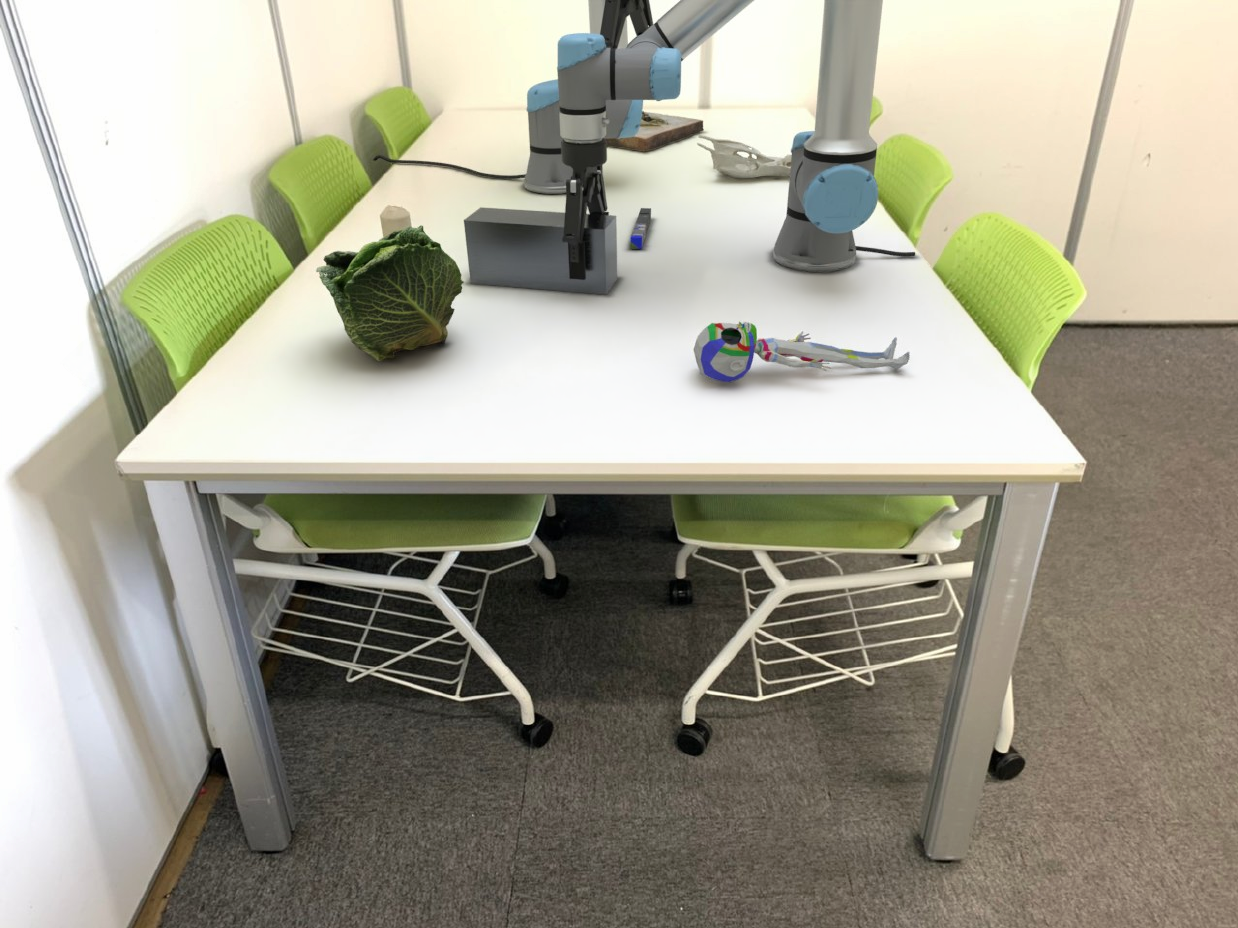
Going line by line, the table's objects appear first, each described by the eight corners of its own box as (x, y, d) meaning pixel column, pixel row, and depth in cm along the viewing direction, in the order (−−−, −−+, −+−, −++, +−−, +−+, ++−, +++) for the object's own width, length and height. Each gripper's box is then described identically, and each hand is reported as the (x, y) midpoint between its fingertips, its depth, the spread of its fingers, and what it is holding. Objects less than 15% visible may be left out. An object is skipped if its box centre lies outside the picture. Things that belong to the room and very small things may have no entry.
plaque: (647, 125, 237) (559, 112, 252) (647, 153, 241) (560, 139, 256) (706, 107, 258) (622, 97, 273) (705, 133, 262) (622, 121, 277)
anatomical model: (699, 131, 223) (801, 130, 220) (699, 169, 228) (798, 168, 225) (695, 146, 211) (802, 144, 207) (695, 185, 216) (799, 184, 212)
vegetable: (383, 372, 146) (305, 267, 139) (481, 306, 148) (409, 199, 140) (387, 399, 128) (297, 280, 120) (499, 324, 129) (417, 201, 122)
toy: (920, 350, 124) (709, 333, 119) (901, 404, 128) (697, 389, 123) (893, 321, 132) (695, 304, 127) (877, 373, 137) (685, 357, 132)
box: (470, 283, 161) (463, 220, 155) (486, 268, 168) (480, 207, 161) (606, 294, 156) (604, 229, 150) (617, 279, 162) (616, 215, 156)
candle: (421, 255, 174) (414, 203, 169) (406, 264, 170) (398, 212, 164) (396, 252, 176) (388, 201, 170) (381, 261, 171) (372, 209, 166)
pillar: (651, 208, 191) (641, 238, 174) (650, 218, 192) (641, 249, 175) (640, 208, 191) (630, 238, 174) (640, 218, 192) (630, 249, 175)
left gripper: (617, -41, 149) (618, 95, 160) (672, -50, 168) (670, 72, 179) (576, -42, 151) (581, 92, 163) (635, -50, 171) (635, 70, 182)
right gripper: (585, 157, 136) (589, 292, 148) (623, 124, 156) (624, 246, 167) (538, 155, 138) (546, 289, 149) (582, 122, 157) (586, 243, 169)
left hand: (627, 82), depth 171 cm, fingers open, 13 cm apart
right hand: (587, 266), depth 158 cm, fingers open, 12 cm apart
